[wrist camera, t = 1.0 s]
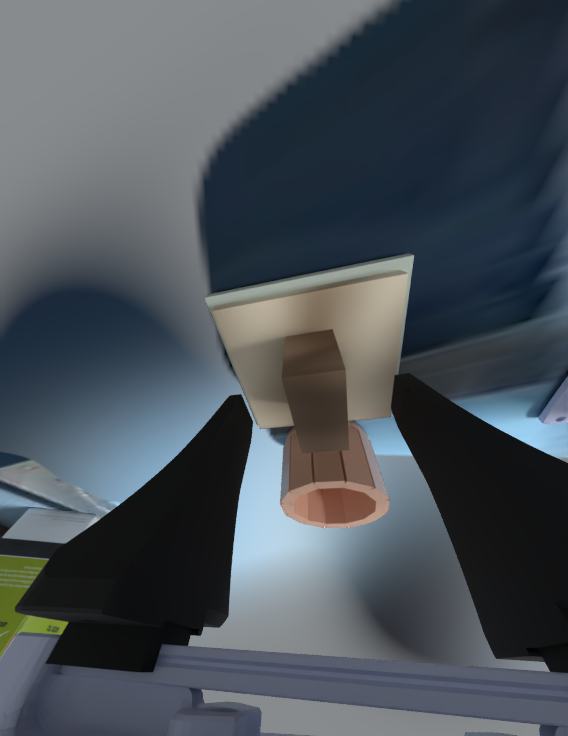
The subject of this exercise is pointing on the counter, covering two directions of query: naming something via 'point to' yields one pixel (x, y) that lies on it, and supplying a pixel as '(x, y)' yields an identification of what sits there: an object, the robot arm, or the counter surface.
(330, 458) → the cup
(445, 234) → the counter surface
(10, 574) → the tea box
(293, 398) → the lid
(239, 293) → the mat
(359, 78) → the counter surface
